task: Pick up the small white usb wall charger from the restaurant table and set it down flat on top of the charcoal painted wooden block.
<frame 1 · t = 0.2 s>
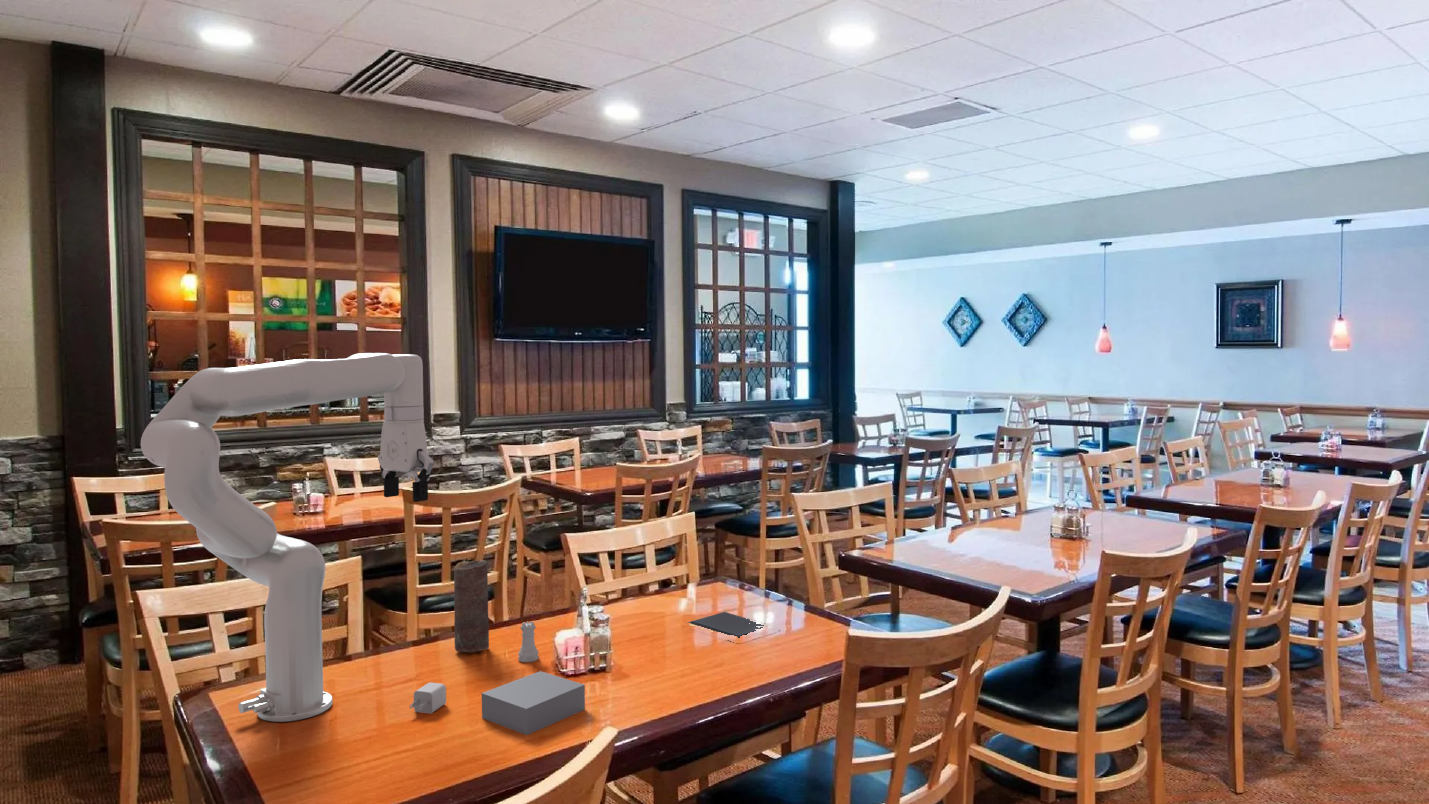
hand: (405, 498, 182), 36 cm above the table, tool pointing down, fingers open, 9 cm apart
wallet: (730, 631, 214), on the table
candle: (471, 652, 197), on the table
base block: (534, 715, 163), on the table
rook chess piece: (528, 660, 192), on the table
usb wall charger: (426, 712, 164), on the table
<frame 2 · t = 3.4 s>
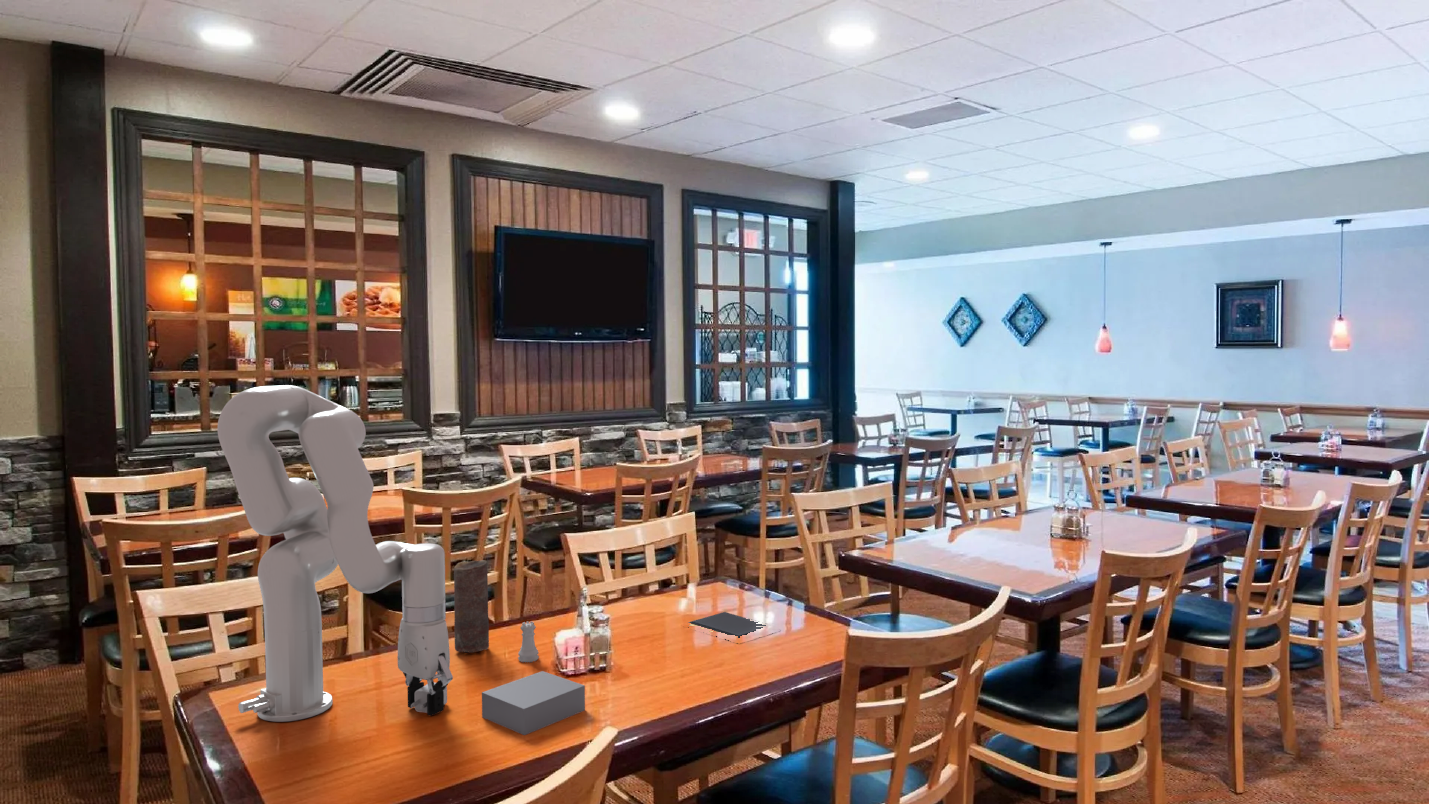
hand: (425, 708, 164), 0 cm above the table, tool pointing down, fingers open, 5 cm apart
usb wall charger: (427, 711, 164), on the table, touching gripper
everything else where it was.
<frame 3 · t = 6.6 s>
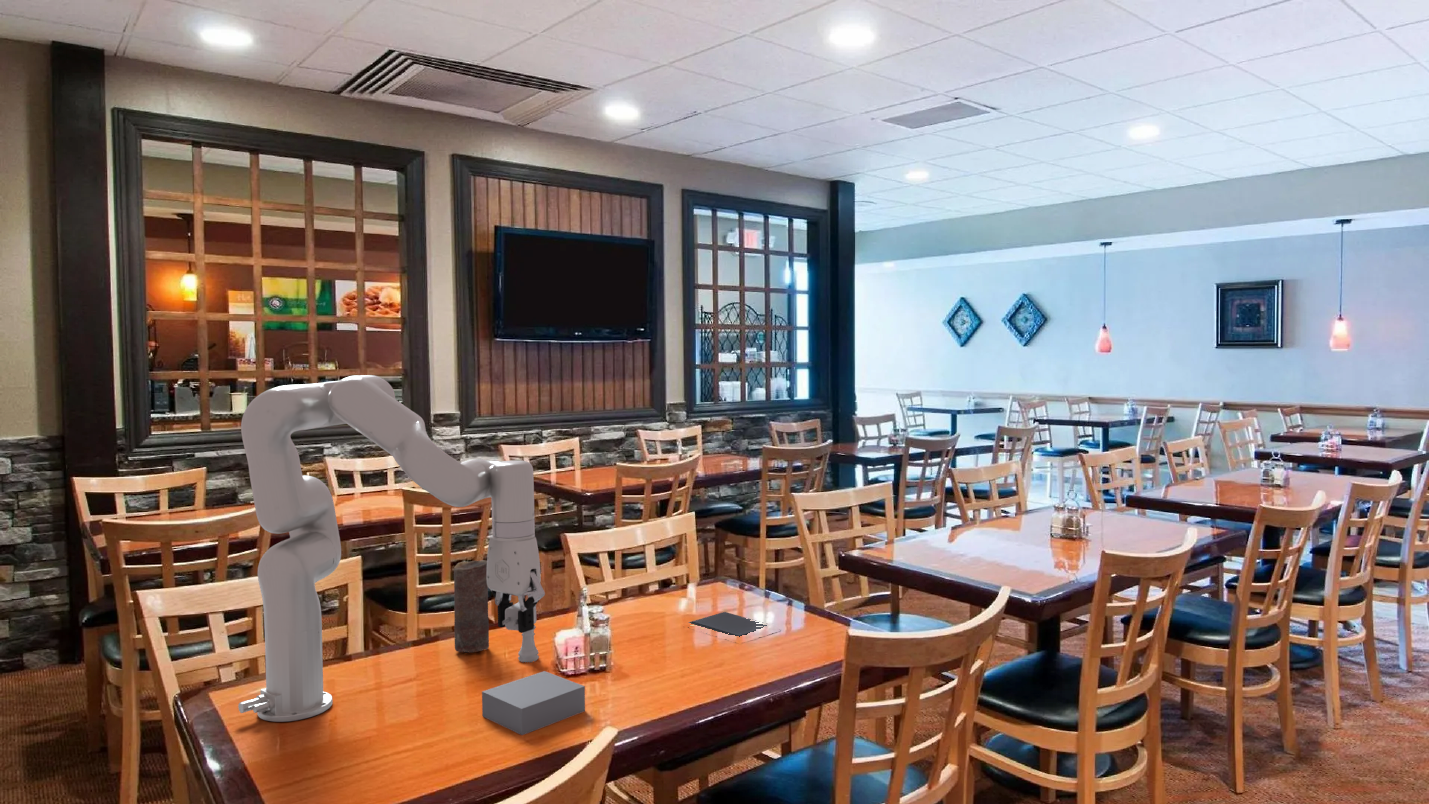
hand: (515, 627, 162), 16 cm above the table, tool pointing down, fingers closed on usb wall charger, 4 cm apart
usb wall charger: (517, 630, 162), point 15 cm above the table, touching gripper
everything else where it was.
when the fingers open (6 cm above the table, at t = 9.4 s): usb wall charger drops 1 cm, point 4 cm above the table.
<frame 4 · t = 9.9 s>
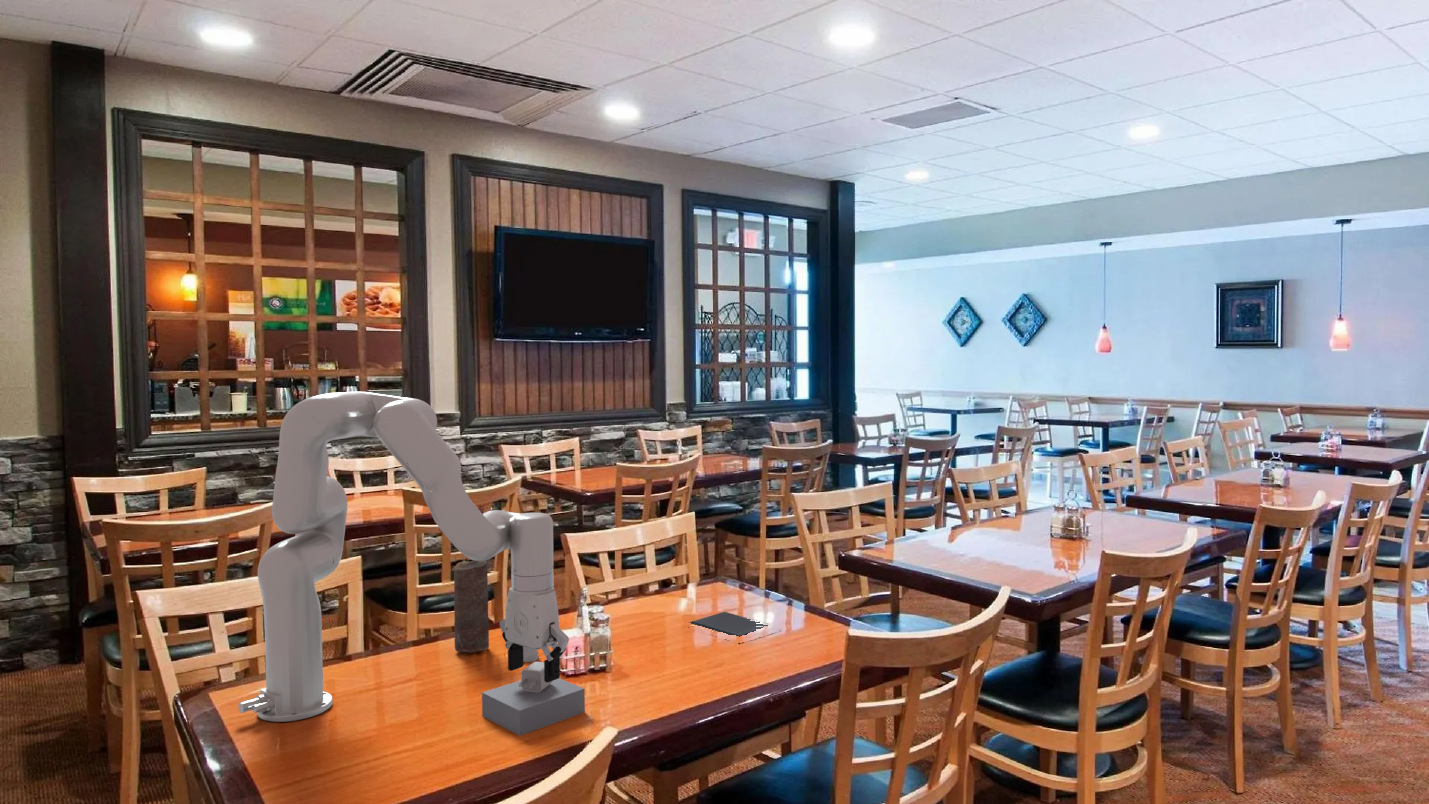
hand: (533, 674, 162), 7 cm above the table, tool pointing down, fingers open, 9 cm apart
usb wall charger: (533, 691, 162), point 4 cm above the table
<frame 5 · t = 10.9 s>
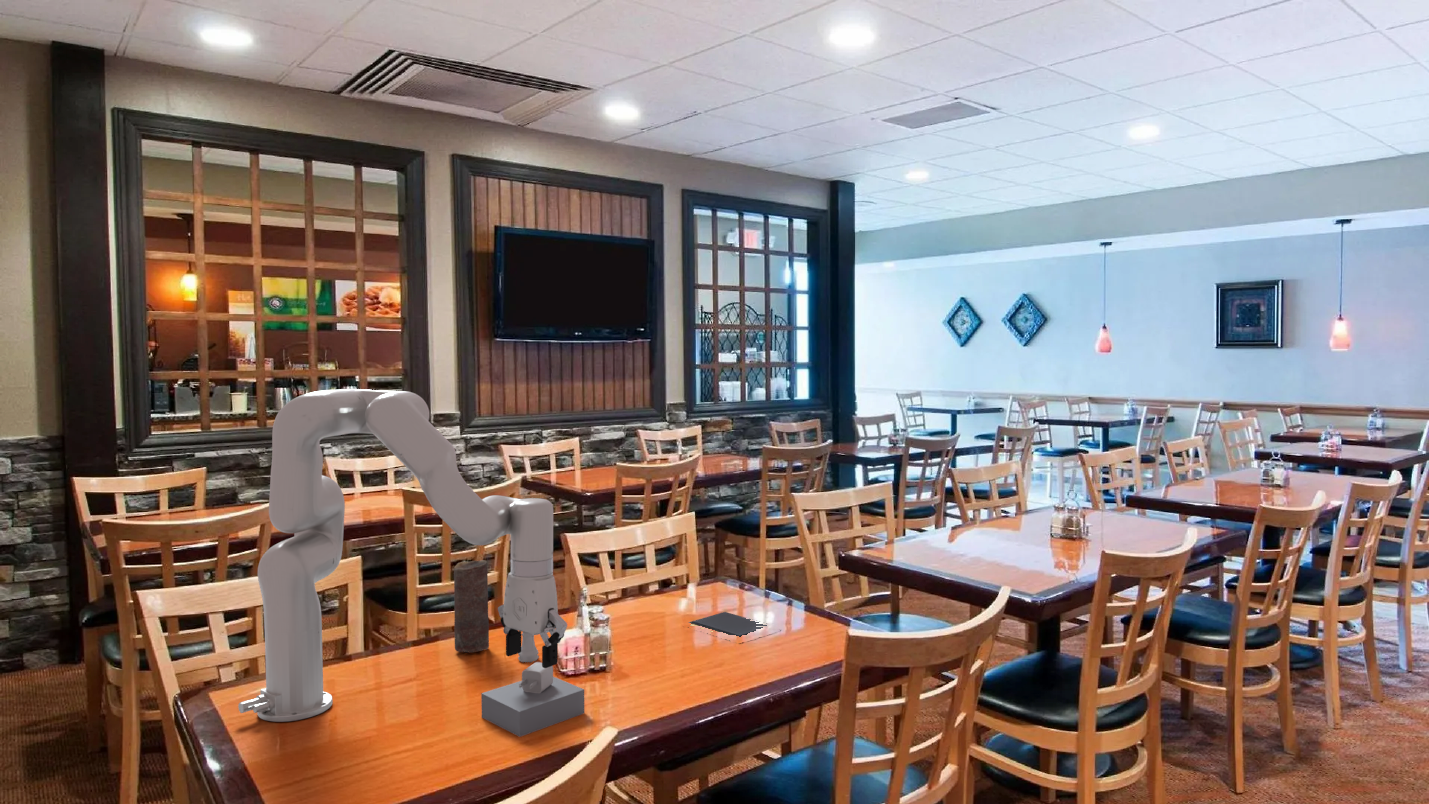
hand: (531, 660, 162), 10 cm above the table, tool pointing down, fingers open, 9 cm apart
base block: (533, 718, 162), on the table, touching usb wall charger
usb wall charger: (534, 691, 162), point 4 cm above the table, touching base block
everything else where it was.
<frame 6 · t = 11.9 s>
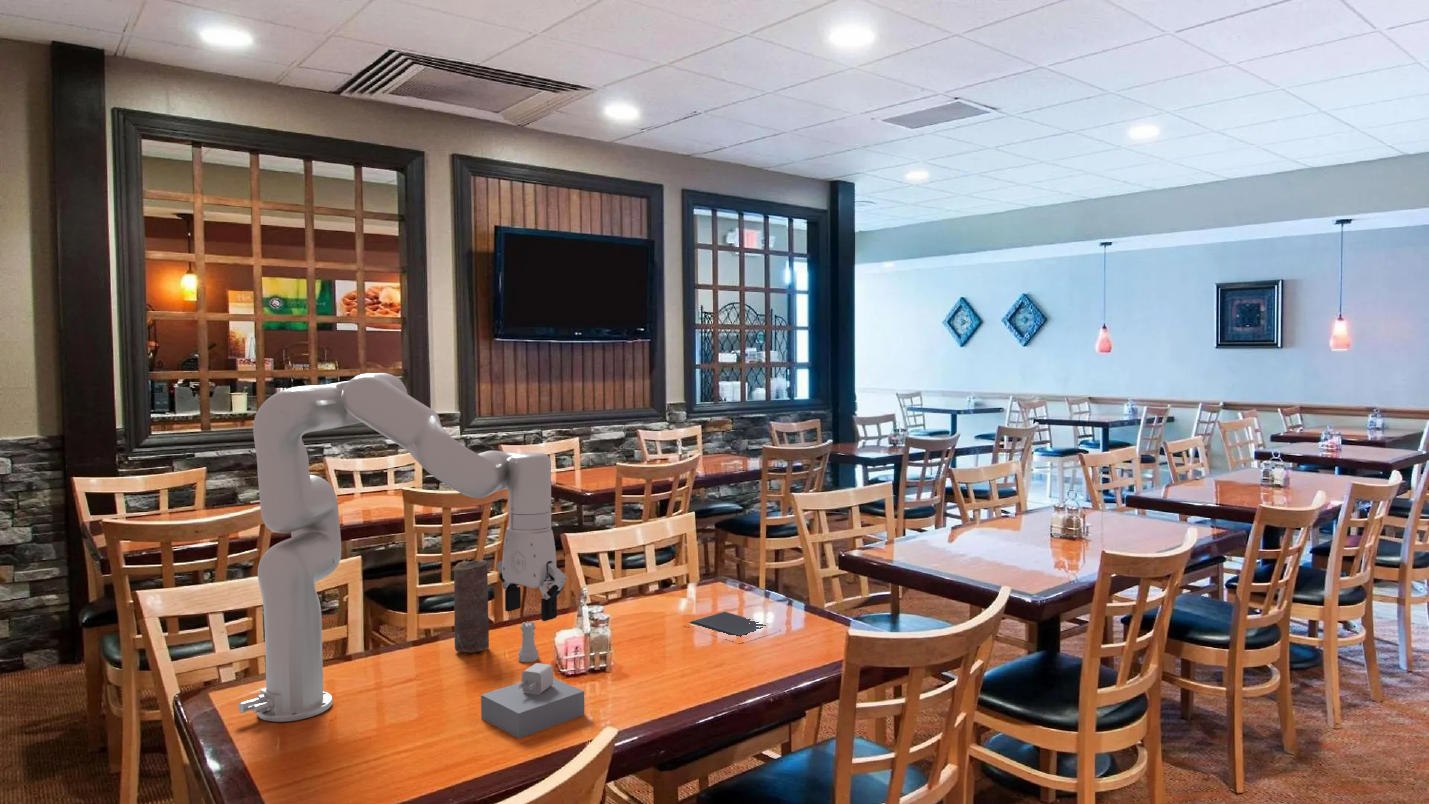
hand: (530, 614, 162), 18 cm above the table, tool pointing down, fingers open, 9 cm apart
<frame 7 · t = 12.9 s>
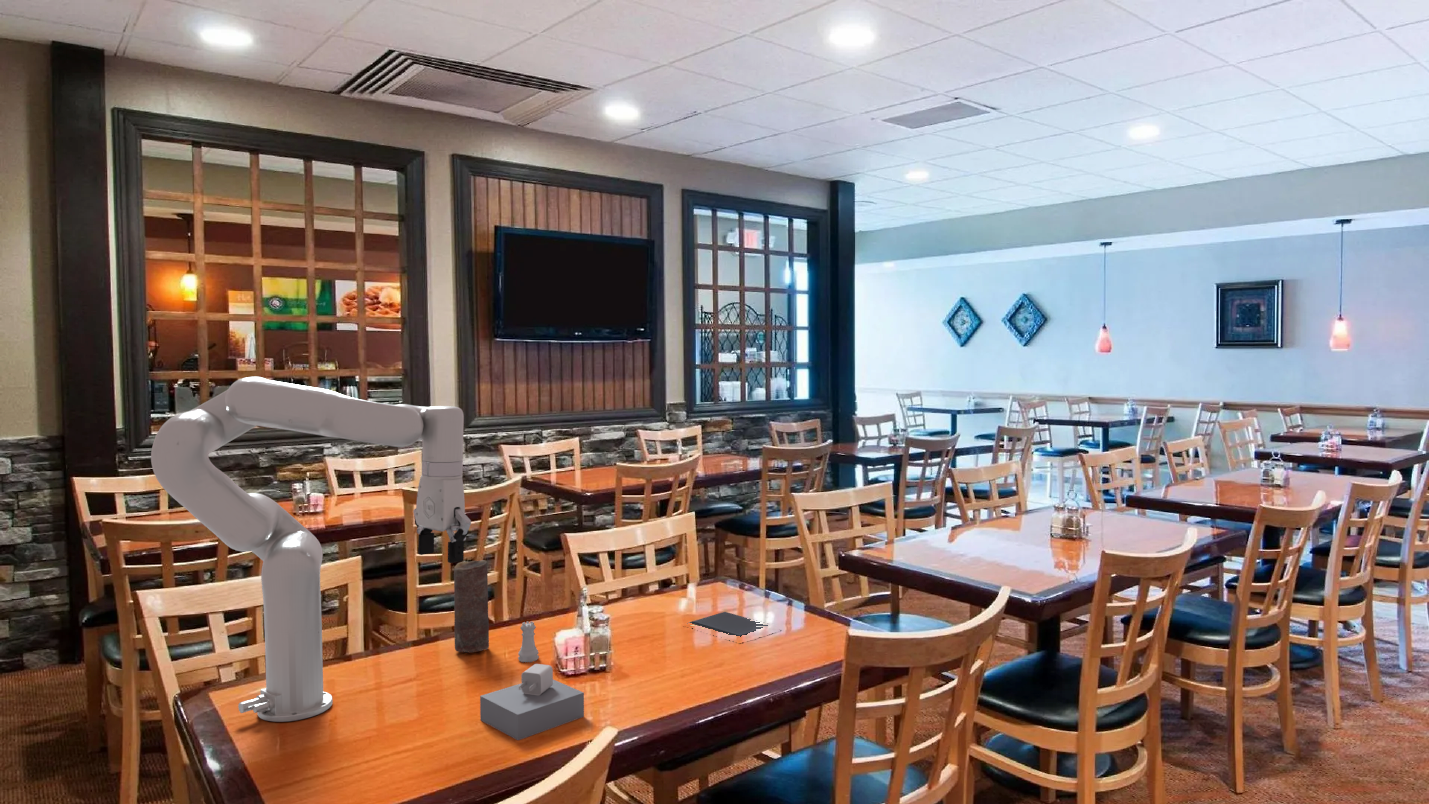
hand: (440, 557, 173), 26 cm above the table, tool pointing down, fingers open, 9 cm apart
base block: (532, 721, 161), on the table
usb wall charger: (533, 693, 161), point 4 cm above the table
everything else where it was.
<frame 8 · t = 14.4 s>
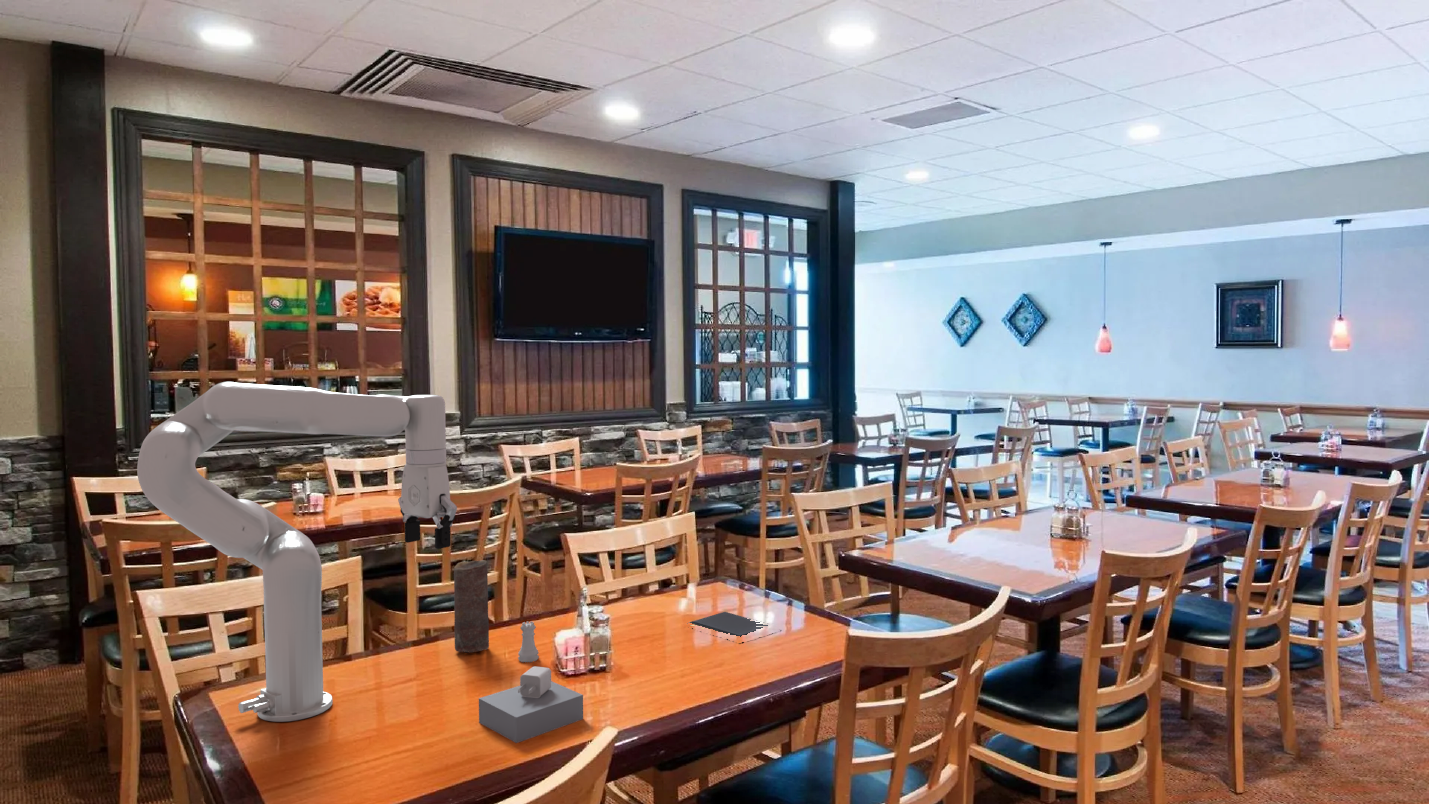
hand: (427, 544, 175), 28 cm above the table, tool pointing down, fingers open, 9 cm apart
base block: (531, 723, 160), on the table, touching usb wall charger
usb wall charger: (532, 696, 160), point 4 cm above the table, touching base block
everything else where it was.
at the end: usb wall charger inside the target area on the base block (0.5 cm from its centre), point 4.8 cm above the base block's base; usb wall charger tilted 0°; the gripper is holding nothing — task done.
